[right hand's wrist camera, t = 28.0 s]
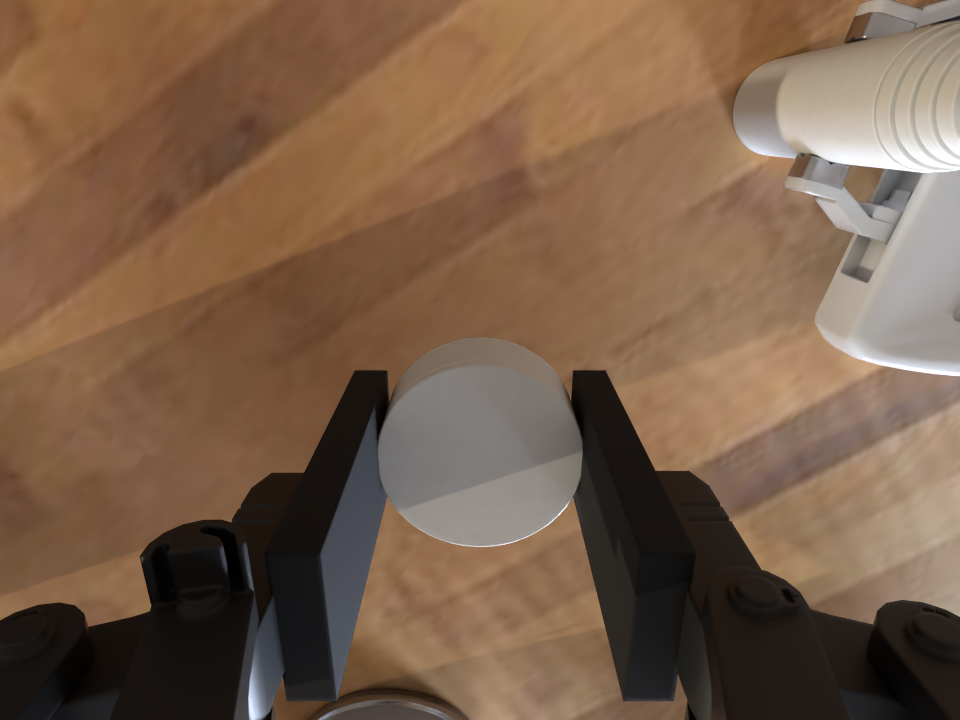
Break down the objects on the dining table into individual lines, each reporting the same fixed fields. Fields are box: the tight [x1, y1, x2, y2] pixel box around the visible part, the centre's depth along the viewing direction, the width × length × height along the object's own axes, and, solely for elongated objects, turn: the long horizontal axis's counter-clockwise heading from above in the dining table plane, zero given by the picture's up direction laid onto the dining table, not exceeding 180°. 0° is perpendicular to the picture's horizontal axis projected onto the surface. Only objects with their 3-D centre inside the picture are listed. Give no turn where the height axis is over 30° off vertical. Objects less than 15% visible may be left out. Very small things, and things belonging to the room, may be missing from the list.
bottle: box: [733, 21, 960, 173], centre depth 24 cm, size 5×5×18 cm
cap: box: [378, 337, 583, 547], centre depth 14 cm, size 4×4×2 cm
